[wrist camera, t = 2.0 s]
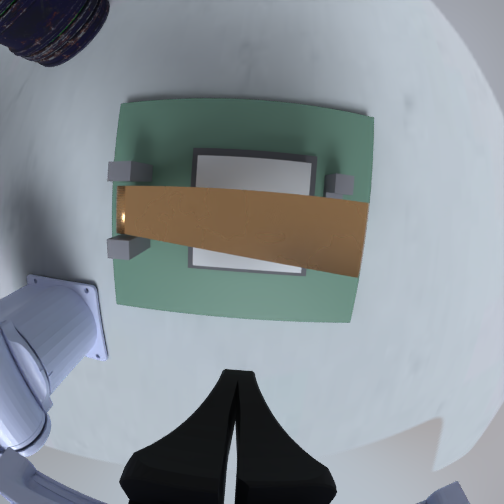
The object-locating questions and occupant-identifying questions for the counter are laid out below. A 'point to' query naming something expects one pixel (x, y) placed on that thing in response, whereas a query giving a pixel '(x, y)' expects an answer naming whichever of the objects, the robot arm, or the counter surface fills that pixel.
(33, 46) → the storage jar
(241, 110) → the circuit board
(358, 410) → the counter surface
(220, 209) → the hold-down strap
